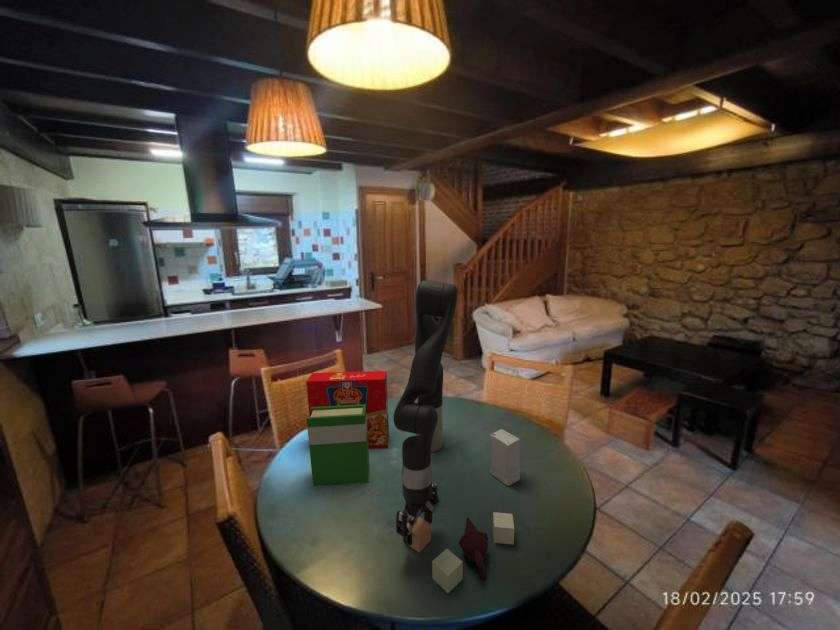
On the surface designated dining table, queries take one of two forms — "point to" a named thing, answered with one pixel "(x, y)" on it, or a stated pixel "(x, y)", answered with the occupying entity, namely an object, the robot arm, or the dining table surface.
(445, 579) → the sage cube
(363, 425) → the hardback book
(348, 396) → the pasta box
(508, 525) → the cream cube
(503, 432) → the skincare box
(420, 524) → the terracotta cube
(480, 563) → the icecream
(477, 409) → the dining table surface
